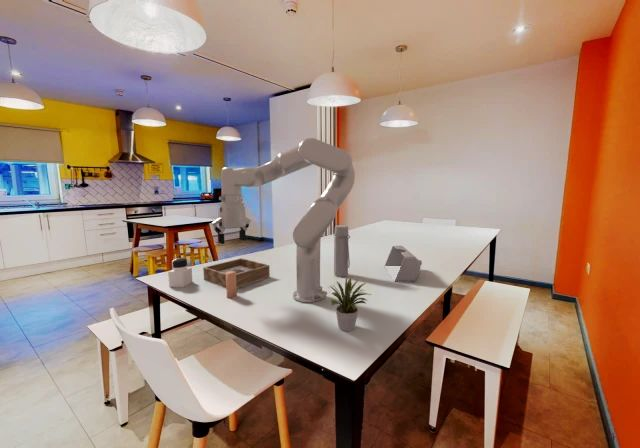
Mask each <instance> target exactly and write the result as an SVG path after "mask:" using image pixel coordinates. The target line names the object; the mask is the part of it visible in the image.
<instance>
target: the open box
mask: <svg viewBox="0 0 640 448" xmlns="http://www.w3.org/2000/svg"><path fill="white" fill-rule="evenodd" d="M237 266H243V267H247V268H250V269H252V270H249V271H246V272H242V273H239V274H236V286H237V289H238V288H242V287H245V286H247V285H250V284H251V285H252V284H253V283H257V282H260V281H262V280H265V279H268V278H270V265H269V264H266V263H261V262H258V261H255V260H251V259H247V258H244V257H243V258H242V257H240V258H237V259H233V260H229V261H225V262H221V263H220V262H219V263H216V264H212V265H208V266H203V269H202V270H203V271H202V272H203V280H204V281H206V282H210V283H212V284H214V285H217V286H220V287H223V288H225V289H226V274H225V273H222V272H219V271H222V270H226V269H229V268H233V267H237Z"/></svg>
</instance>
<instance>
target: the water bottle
mask: <svg viewBox="0 0 640 448" xmlns="http://www.w3.org/2000/svg"><path fill="white" fill-rule="evenodd" d="M333 236H334V238H333V239H334V240H333V241H334V242H333V245H334V246H333V252H334V253H333V255H334V256H333V270H334V271H333V275H334V276H335V277H339V278H344V277H348V275H349V268H350V265H351V264H350V263H351V262H350V248H349V239H350V238H351V236H350V235H349V227H348V225H344V224H342V225H341V224H339V225H337V224H336V225H335V226H334V233H333Z"/></svg>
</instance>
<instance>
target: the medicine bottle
mask: <svg viewBox="0 0 640 448" xmlns="http://www.w3.org/2000/svg"><path fill="white" fill-rule="evenodd" d="M171 265H172V266H171V267H172V269H171V270H169V271H168V272H167V275H168V286H169V288H186V287H187V286H189V285H190V284H192V283H193V269H192V267H189V266H188V259H187V258H184V257H179V258H174V259H173V260H172V261H171Z"/></svg>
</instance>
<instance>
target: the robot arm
mask: <svg viewBox="0 0 640 448" xmlns="http://www.w3.org/2000/svg"><path fill="white" fill-rule="evenodd" d="M312 165H314V166H317V167H319V168H322V169H325V170H326V171H329V172H331V173H332V179H331V180H330V182H328V185H327V186H326V187H325V189H324V190H323V192H322V193H321V194H320V196H319V197H318V198H317V199H316V200H314V201H313V202H312V204H311V205H310V207H308V209H307V210H306V212H305V213H304V215H303V216H302V217H301V219H300V221H299V222H298V223H297V225H296V226H295V227H294V228H293V232H292V238H293V242H294V244H295V245H296V258H295V259H296V260H295V261H296V262H295V263H296V290H295V291H294V292H293V293H292V297H293V299H294V300H296V302H303V303H315V302H319V301H321V300H322V299H323V300H324V299H326V298H327V295H328V292H327V291H325V290H323V286H321V238H322V236H323V235H324V234H325V232H326V230H327V229H328V228H329V226H330V225H331V224H332V223H333V221H334V219H335V218H336V216H337V212H338V211H339V209H340V207H341V205H342V204H343V203H344V201H346V199H347V197H348V195H350V192H351V191H352V190H353V187H354V184H355V176H356V175H355V174H356V173H355V167H354V165H353V158H352V156H351V154H350V153H349V152H348V151H347V150H344V149H342V148H341V147H337V146H335V145H332V144H330V143H326V142H324V141H321V140H319V139H317V138H314V137H306V138H304V139H303V140H301V142H300V143H299V145H297V146H294V147H291V148H289V149H287V150H285V151H281V152H280V153H277V155H275V157H274V158H273V159H272V160H271V161H269V162H267V163H264V164H262V165H259V166H257V167H249V166H247V167H229V166H228V167H226V166H225V167H223V168H222V169H221V174H220V176H221V177H220V178H221V179H220V180H221V181H220V182H221V184H220V185H221V187H220V188H221V194H220V195H221V196H219V197H218V200H219V201H220V203H219V209H218V218H217V219H214V220H213V221H212V222H211V223H210V225H211V226H212V229H213V230H214V231H215V233H217V242H218V244H221V245H224V244H225V234H224V232H225V230H231V229H232V230H233V229H239V231H238V233H239V237H238V238H239V240H240V241H243V242H244V241H246V235H247V234H246V232H247V230H248V228H249V227H250V223H251V221H252V220H251V219H250V218H249V217H246V216H247V215H246V210H245V209H246V208H245V204H244V202H242V201H243V199H242V197H243V196H242V195H243V194H242V191H243V190H242V187H246V188H256V187H257V188H259V187H261V186H263V185H266V184H268V183H271V182H273V181H275V180H278V179H280V178H282V177H286V176H288V175H291V174H292V173H295V172H297V171H300V170H302V169H305V168H308V167H310V166H312Z"/></svg>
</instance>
